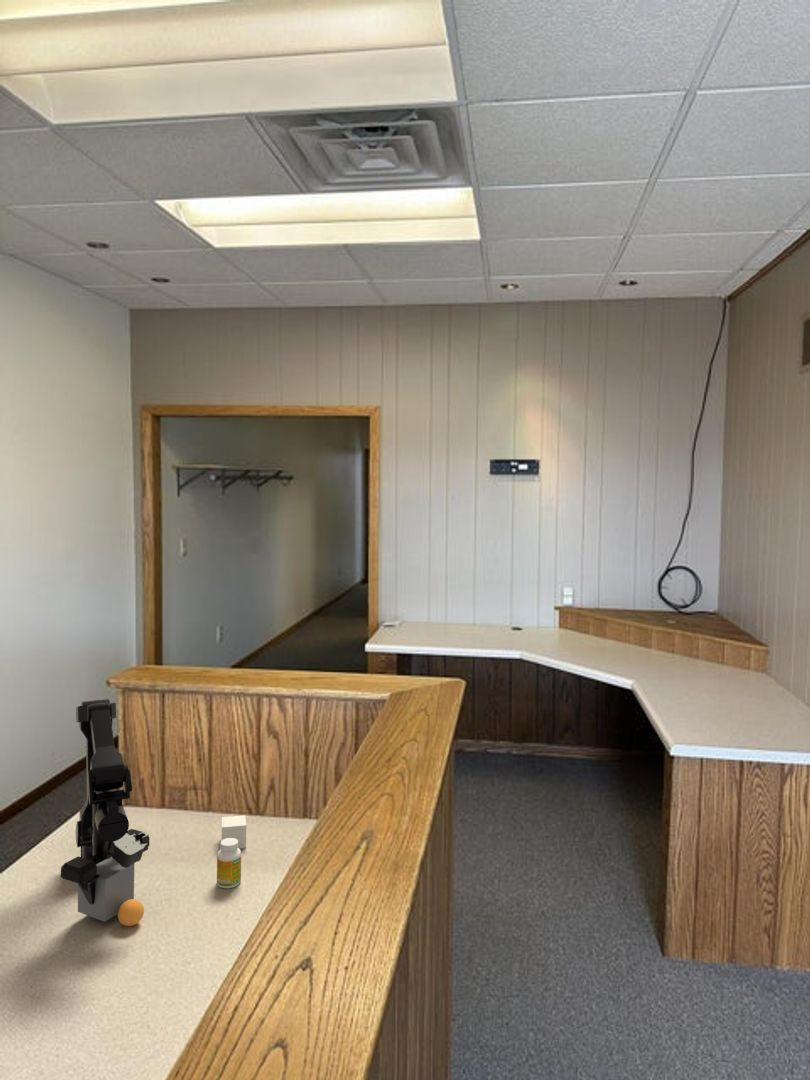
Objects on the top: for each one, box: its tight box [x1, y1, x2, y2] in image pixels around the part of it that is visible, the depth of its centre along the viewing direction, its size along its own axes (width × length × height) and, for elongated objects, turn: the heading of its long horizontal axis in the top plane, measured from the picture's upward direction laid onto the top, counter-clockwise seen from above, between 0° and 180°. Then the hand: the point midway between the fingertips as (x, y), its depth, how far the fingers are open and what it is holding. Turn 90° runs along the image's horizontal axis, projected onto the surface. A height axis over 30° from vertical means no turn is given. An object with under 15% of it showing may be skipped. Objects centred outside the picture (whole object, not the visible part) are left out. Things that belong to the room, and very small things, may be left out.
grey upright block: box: [77, 858, 135, 922], centre depth 151 cm, size 8×8×9 cm
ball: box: [117, 898, 145, 927], centre depth 148 cm, size 5×5×5 cm
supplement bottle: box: [216, 838, 242, 889], centre depth 165 cm, size 5×5×10 cm
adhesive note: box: [220, 814, 247, 850], centre depth 184 cm, size 6×6×6 cm
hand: (107, 894), depth 151 cm, fingers closed on grey upright block, 8 cm apart
